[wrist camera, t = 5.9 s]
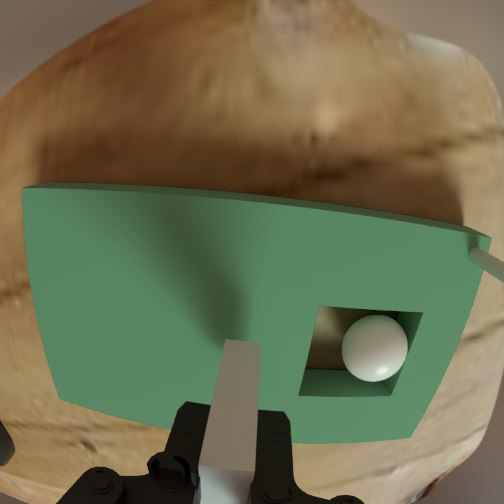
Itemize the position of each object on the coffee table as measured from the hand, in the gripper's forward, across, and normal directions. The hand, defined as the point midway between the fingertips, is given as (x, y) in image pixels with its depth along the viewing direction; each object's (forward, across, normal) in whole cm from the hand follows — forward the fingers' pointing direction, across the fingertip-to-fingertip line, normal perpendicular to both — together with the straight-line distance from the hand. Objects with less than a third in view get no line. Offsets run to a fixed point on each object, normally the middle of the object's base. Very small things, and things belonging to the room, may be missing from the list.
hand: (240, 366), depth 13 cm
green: (+4, 0, 0) cm, 4 cm away
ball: (+2, +7, 0) cm, 7 cm away
